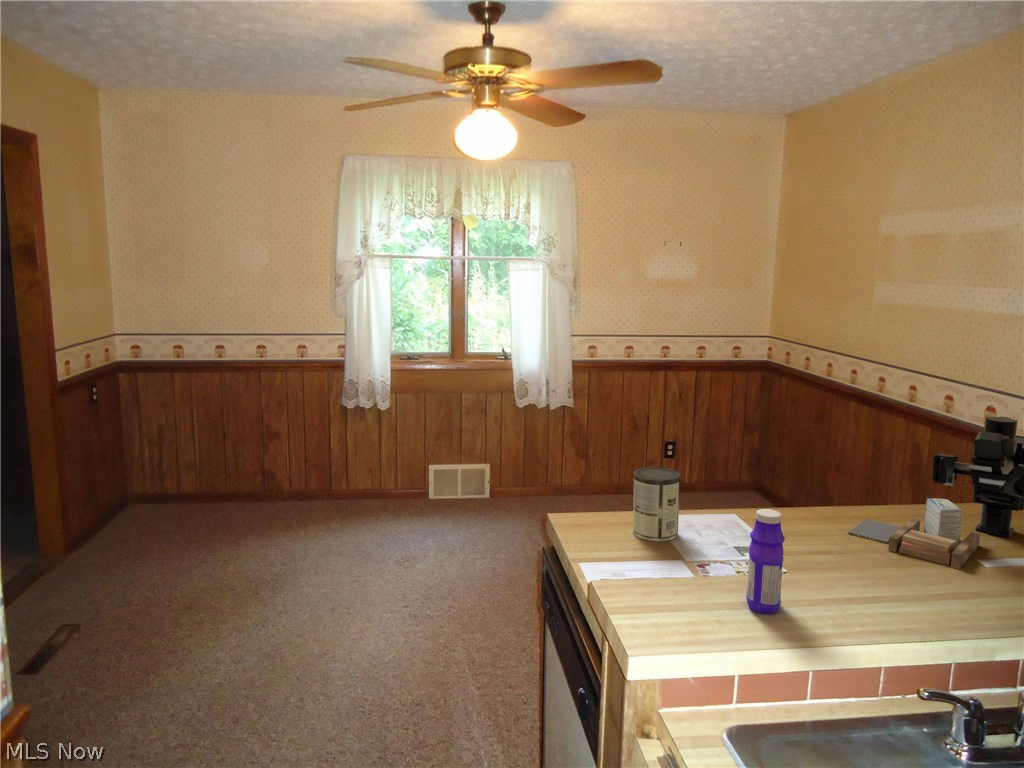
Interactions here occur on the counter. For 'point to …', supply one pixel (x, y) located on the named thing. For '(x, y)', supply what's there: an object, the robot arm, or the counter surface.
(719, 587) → the counter surface
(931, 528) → the medicine box
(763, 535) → the bottle
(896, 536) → the rack
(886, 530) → the mat
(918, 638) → the counter surface
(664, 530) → the coffee can
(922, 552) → the offcut stack
